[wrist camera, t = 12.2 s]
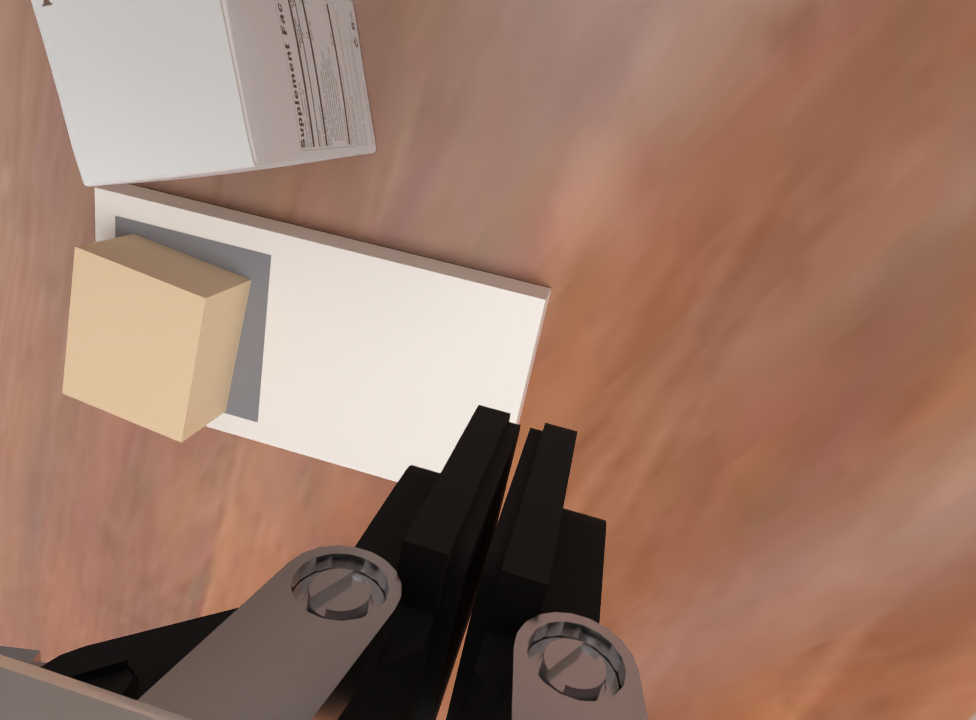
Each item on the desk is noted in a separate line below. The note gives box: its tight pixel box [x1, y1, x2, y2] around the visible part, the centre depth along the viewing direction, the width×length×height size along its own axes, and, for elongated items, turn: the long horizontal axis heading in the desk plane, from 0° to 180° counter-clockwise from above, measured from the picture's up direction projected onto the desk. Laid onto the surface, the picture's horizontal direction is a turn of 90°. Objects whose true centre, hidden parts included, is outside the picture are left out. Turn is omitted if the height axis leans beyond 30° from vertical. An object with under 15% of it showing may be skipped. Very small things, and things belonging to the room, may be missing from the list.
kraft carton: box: [62, 234, 251, 442], centre depth 43 cm, size 10×8×5 cm
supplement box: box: [31, 0, 376, 186], centre depth 35 cm, size 9×9×15 cm
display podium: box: [95, 184, 551, 482], centre depth 46 cm, size 15×30×3 cm, turn 79°
